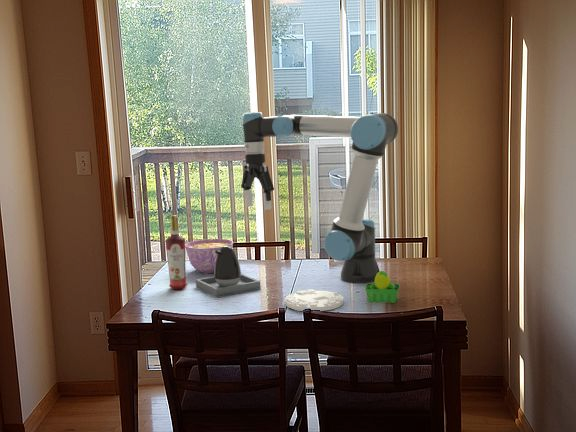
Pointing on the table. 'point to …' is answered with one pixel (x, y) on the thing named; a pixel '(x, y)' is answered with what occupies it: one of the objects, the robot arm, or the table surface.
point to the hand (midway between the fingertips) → (258, 207)
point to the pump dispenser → (227, 267)
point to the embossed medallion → (314, 300)
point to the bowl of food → (205, 253)
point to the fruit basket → (382, 289)
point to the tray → (219, 291)
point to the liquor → (176, 257)
